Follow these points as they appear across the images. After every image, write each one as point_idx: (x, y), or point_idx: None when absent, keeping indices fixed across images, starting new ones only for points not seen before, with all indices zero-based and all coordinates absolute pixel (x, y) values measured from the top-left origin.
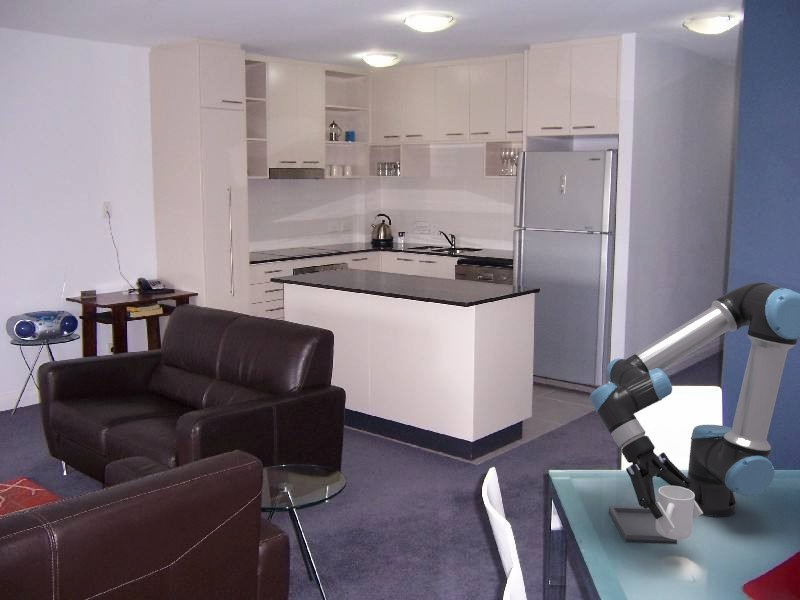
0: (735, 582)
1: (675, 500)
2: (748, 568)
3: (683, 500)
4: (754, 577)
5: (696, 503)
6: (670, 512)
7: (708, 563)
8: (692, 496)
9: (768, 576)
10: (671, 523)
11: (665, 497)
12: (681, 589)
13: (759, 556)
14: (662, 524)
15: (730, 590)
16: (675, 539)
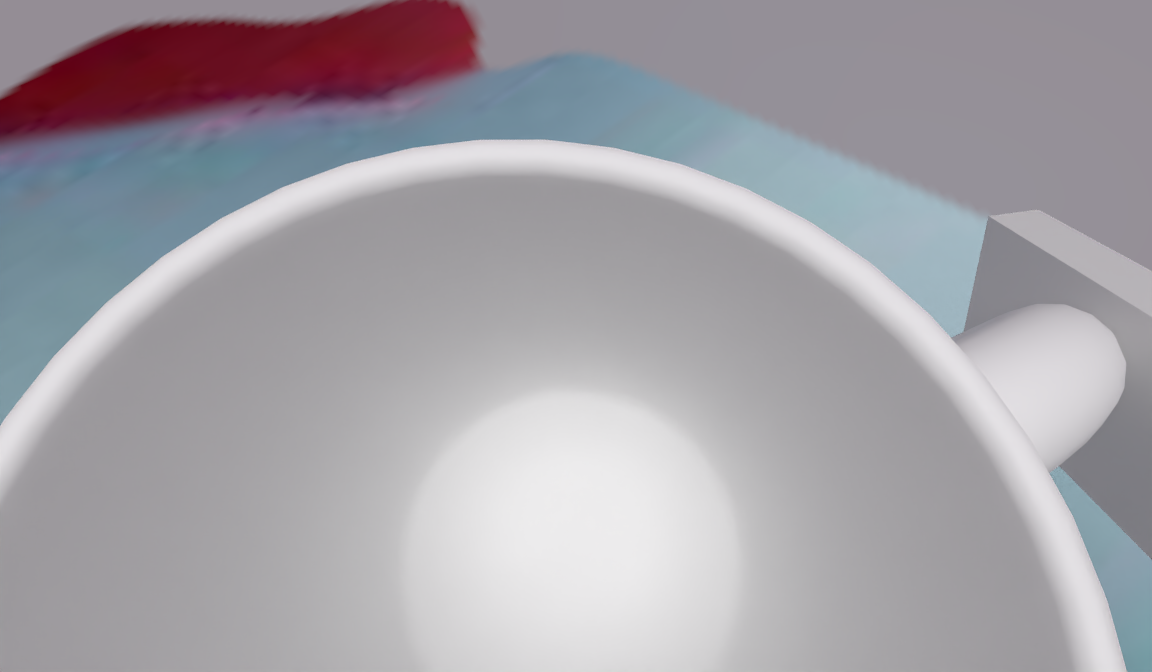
0: (471, 121)
1: (937, 345)
2: (240, 192)
3: (754, 195)
4: (316, 109)
5: None
6: (1068, 313)
7: None
8: (157, 389)
9: (235, 82)
10: (1064, 237)
11: (1109, 669)
12: (860, 212)
13: (28, 257)
14: None
15: (583, 78)
16: (682, 430)
